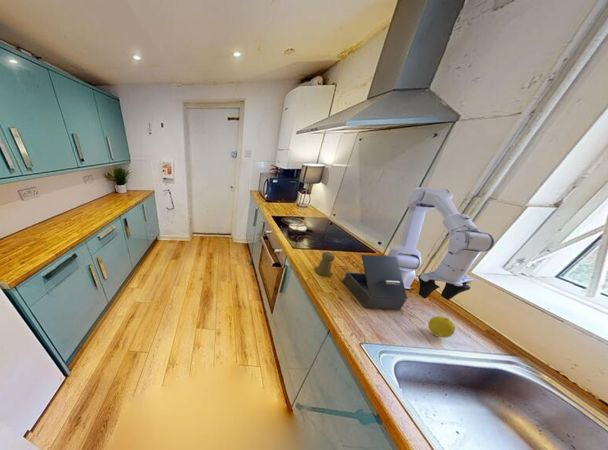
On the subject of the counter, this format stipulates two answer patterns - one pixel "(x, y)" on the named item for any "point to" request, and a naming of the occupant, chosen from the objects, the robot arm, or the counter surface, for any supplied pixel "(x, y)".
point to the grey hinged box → (360, 290)
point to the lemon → (441, 326)
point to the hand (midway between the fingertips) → (433, 297)
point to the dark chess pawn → (325, 264)
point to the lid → (383, 277)
